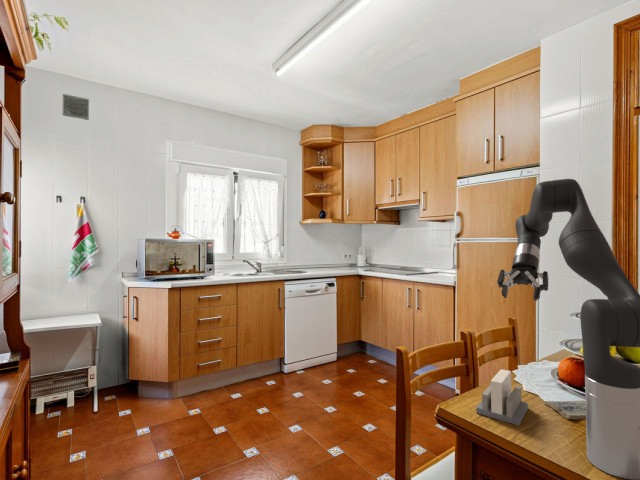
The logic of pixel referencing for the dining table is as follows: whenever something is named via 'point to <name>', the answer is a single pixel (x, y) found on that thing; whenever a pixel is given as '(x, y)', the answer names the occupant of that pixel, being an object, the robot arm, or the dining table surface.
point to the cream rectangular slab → (500, 391)
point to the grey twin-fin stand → (512, 412)
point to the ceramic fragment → (569, 408)
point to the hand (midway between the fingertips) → (519, 297)
